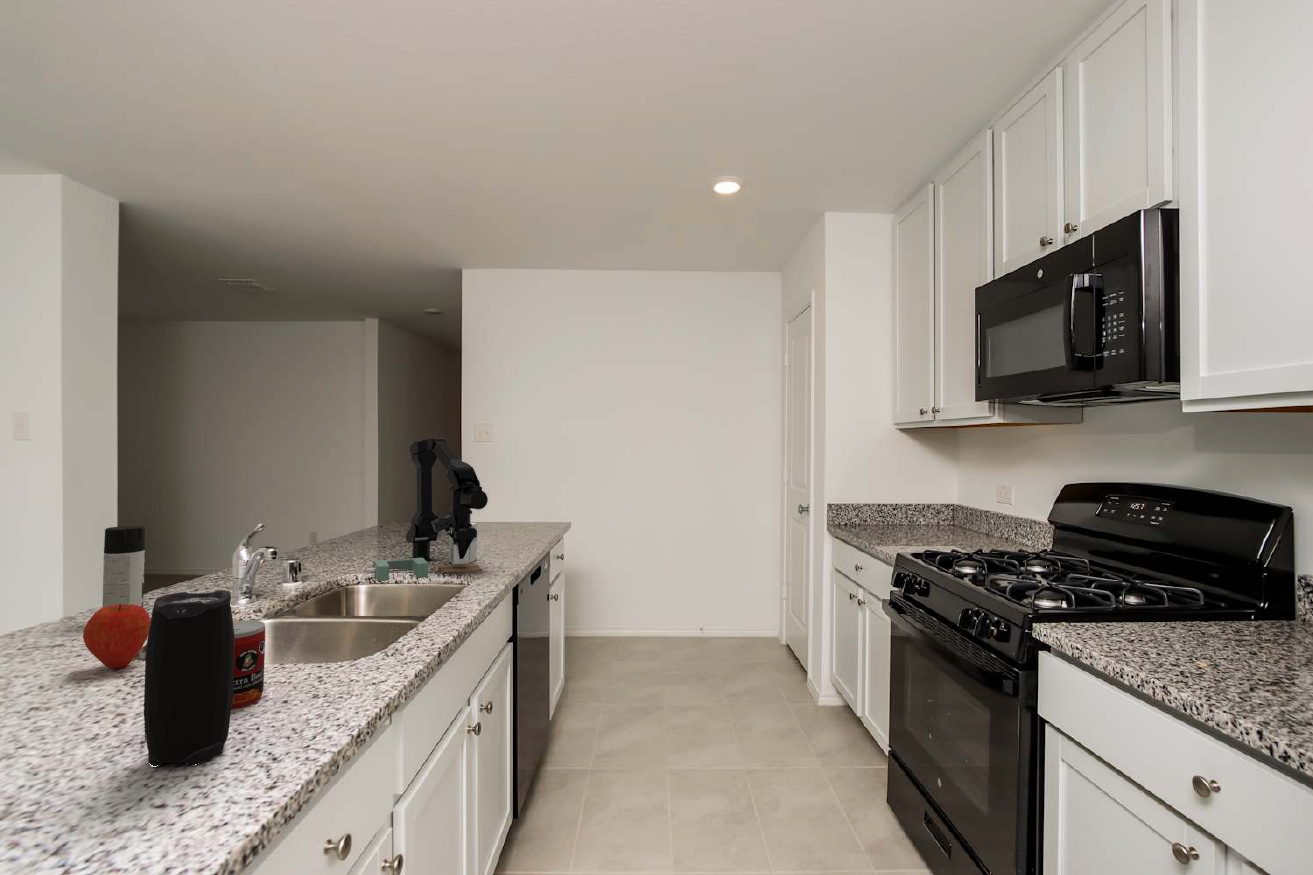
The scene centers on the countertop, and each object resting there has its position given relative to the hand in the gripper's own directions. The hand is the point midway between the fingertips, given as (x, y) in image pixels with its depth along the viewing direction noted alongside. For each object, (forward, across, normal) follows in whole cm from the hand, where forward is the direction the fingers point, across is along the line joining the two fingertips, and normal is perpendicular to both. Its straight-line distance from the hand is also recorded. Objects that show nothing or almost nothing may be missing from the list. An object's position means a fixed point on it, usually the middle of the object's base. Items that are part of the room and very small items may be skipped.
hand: (459, 557), depth 193 cm
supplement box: (+4, -15, +4) cm, 16 cm away
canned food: (+4, +86, -50) cm, 100 cm away
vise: (+4, -2, -18) cm, 19 cm away
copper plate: (+4, 0, 0) cm, 4 cm away
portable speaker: (+4, +103, -53) cm, 116 cm away
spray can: (+4, +28, -75) cm, 80 cm away
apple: (+4, +62, -69) cm, 92 cm away
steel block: (+2, 0, 0) cm, 2 cm away
